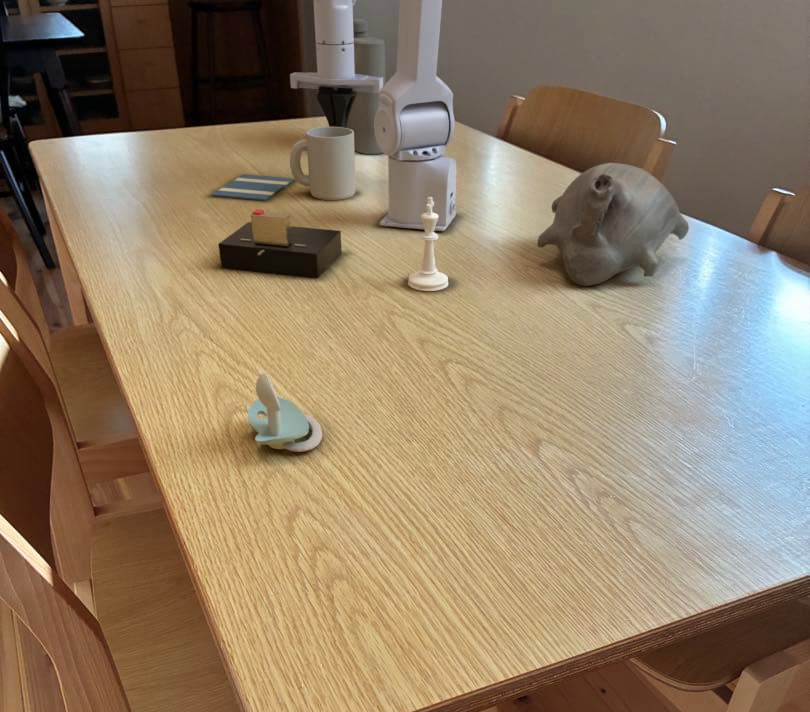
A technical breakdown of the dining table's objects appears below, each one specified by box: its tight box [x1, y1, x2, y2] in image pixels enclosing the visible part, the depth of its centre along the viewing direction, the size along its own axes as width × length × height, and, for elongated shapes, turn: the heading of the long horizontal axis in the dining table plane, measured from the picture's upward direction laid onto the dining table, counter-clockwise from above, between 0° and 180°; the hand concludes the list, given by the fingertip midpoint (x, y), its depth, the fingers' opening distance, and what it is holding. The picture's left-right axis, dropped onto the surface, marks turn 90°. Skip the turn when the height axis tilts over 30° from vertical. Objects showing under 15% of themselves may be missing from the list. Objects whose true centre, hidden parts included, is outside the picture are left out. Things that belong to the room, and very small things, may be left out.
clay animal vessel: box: [537, 162, 690, 287], centre depth 101 cm, size 18×16×14 cm
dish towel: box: [211, 174, 295, 202], centre depth 130 cm, size 9×12×1 cm
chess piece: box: [407, 197, 449, 292], centre depth 95 cm, size 5×5×10 cm
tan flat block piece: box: [250, 208, 292, 247], centre depth 99 cm, size 4×2×4 cm, turn 75°
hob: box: [217, 221, 343, 279], centre depth 102 cm, size 13×11×3 cm
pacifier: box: [247, 372, 323, 453], centre depth 68 cm, size 7×6×6 cm
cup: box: [289, 126, 357, 201], centre depth 124 cm, size 7×10×9 cm
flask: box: [340, 18, 386, 155], centre depth 146 cm, size 15×6×20 cm, turn 20°
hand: (338, 141), depth 129 cm, fingers closed
